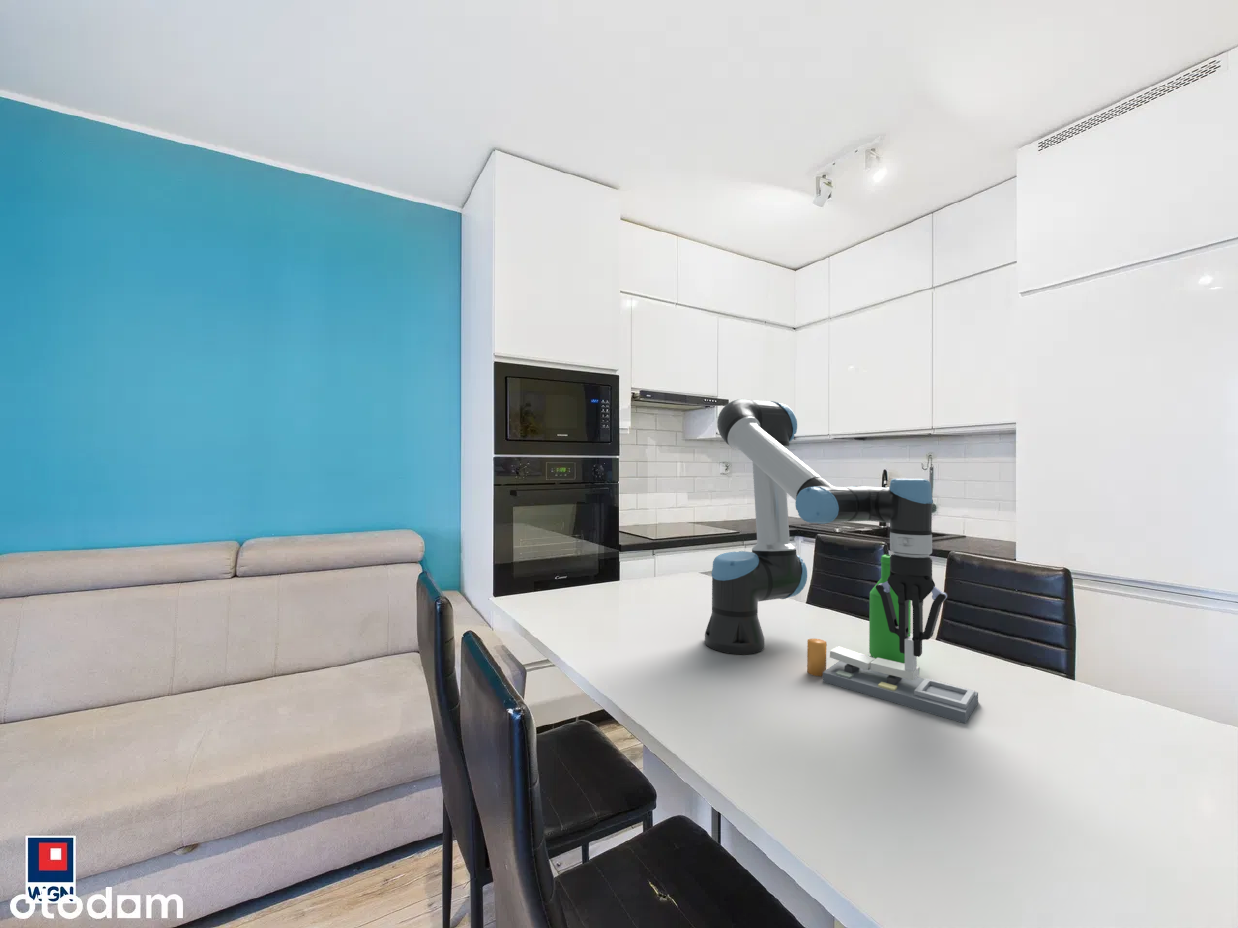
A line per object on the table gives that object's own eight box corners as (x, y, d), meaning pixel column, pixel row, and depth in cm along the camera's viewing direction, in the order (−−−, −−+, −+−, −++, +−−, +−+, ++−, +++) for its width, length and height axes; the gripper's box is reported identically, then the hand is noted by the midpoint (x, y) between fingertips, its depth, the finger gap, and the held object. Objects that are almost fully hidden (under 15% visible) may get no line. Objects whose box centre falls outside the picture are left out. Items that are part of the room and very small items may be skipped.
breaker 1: (829, 657, 115) (830, 650, 115) (837, 652, 118) (838, 645, 118) (867, 670, 109) (868, 663, 109) (874, 665, 113) (875, 658, 113)
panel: (822, 681, 112) (822, 666, 112) (843, 666, 121) (843, 652, 121) (965, 723, 94) (965, 705, 94) (978, 702, 103) (978, 686, 103)
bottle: (906, 668, 120) (907, 560, 120) (865, 659, 125) (866, 555, 125) (912, 657, 127) (913, 555, 127) (873, 649, 132) (874, 551, 132)
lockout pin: (804, 672, 117) (804, 641, 117) (811, 667, 120) (811, 637, 120) (821, 677, 114) (822, 645, 114) (829, 672, 117) (829, 641, 117)
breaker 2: (870, 669, 109) (870, 662, 109) (877, 664, 112) (877, 657, 112) (913, 680, 104) (912, 672, 104) (919, 674, 107) (919, 666, 107)
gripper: (870, 552, 108) (870, 666, 108) (943, 560, 99) (943, 685, 99) (882, 548, 113) (882, 657, 113) (952, 555, 104) (952, 674, 104)
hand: (910, 670), depth 106 cm, fingers closed
